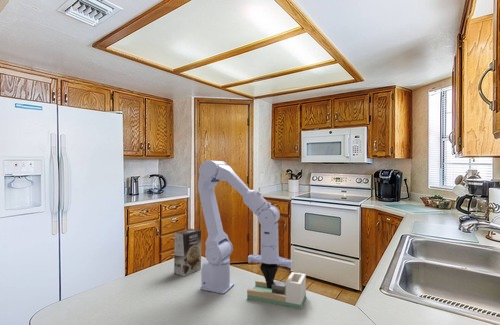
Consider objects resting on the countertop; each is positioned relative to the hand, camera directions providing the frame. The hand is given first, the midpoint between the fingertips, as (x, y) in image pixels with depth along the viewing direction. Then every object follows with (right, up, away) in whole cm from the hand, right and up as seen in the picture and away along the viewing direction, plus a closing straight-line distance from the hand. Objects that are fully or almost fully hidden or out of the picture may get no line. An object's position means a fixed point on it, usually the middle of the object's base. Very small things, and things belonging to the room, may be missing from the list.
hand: (270, 287), depth 84 cm
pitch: (+2, -3, -1) cm, 4 cm away
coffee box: (-31, -4, +21) cm, 38 cm away
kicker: (+3, -1, -1) cm, 3 cm away
